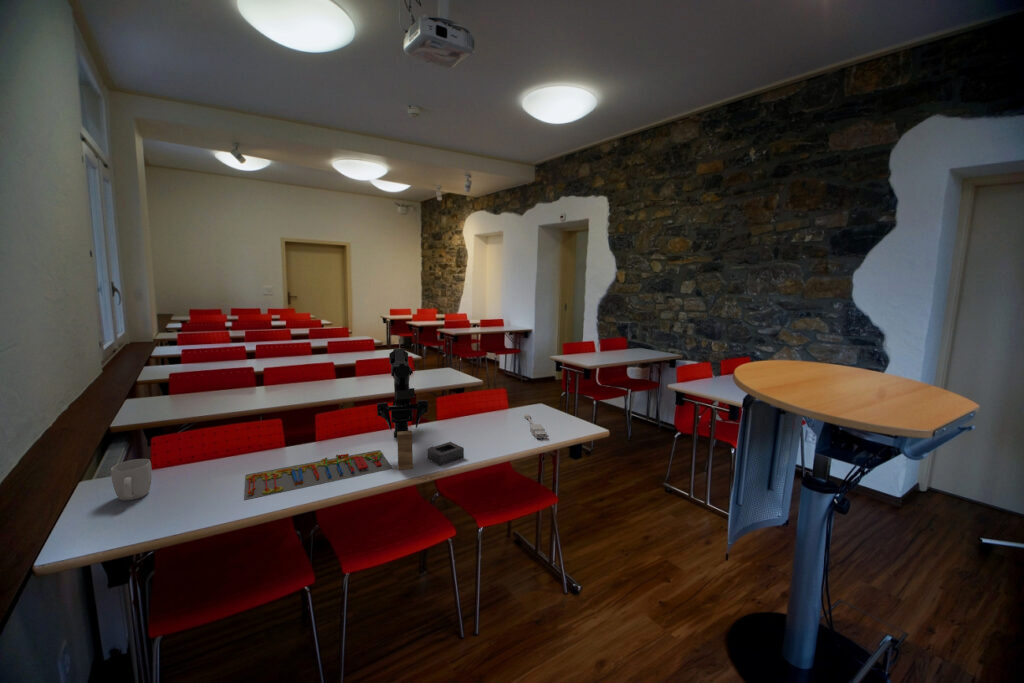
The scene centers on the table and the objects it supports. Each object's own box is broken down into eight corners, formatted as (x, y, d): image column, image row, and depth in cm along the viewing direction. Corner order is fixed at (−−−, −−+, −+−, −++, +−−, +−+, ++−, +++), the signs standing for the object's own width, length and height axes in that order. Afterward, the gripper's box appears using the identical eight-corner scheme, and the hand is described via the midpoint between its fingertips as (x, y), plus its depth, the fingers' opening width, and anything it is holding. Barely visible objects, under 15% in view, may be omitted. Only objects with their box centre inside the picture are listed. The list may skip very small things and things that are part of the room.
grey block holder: (427, 458, 159) (427, 448, 158) (450, 451, 166) (450, 441, 166) (440, 466, 153) (440, 455, 152) (463, 458, 160) (463, 448, 160)
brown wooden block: (398, 466, 152) (397, 431, 150) (412, 464, 154) (411, 430, 152) (398, 469, 149) (397, 434, 148) (412, 468, 151) (412, 433, 149)
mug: (118, 493, 130) (114, 462, 129) (155, 486, 135) (152, 456, 134) (107, 512, 120) (103, 478, 118) (148, 503, 125) (145, 471, 123)
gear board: (379, 445, 166) (393, 464, 150) (379, 451, 167) (393, 470, 150) (245, 469, 143) (243, 494, 127) (245, 476, 144) (244, 502, 127)
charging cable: (531, 418, 212) (531, 411, 212) (546, 439, 180) (547, 431, 180) (521, 418, 211) (521, 412, 211) (535, 439, 180) (535, 432, 179)
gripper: (376, 382, 156) (376, 420, 147) (427, 379, 161) (430, 416, 152) (377, 397, 164) (377, 434, 155) (425, 394, 170) (428, 429, 161)
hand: (403, 428), depth 156 cm, fingers open, 9 cm apart
